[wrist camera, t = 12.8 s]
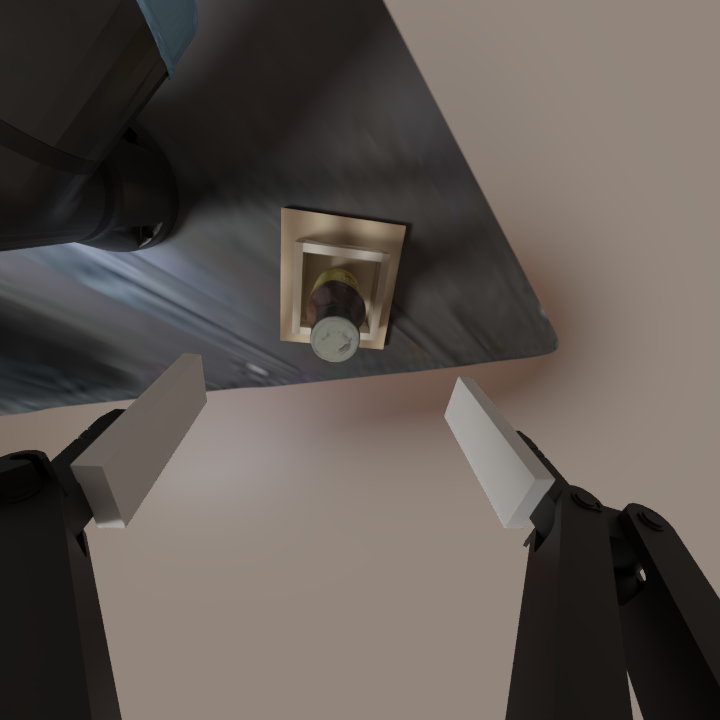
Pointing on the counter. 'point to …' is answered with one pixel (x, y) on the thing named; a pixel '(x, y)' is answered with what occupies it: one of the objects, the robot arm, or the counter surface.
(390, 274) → the caddy board
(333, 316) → the sauce bottle
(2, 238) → the robot arm
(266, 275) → the counter surface
